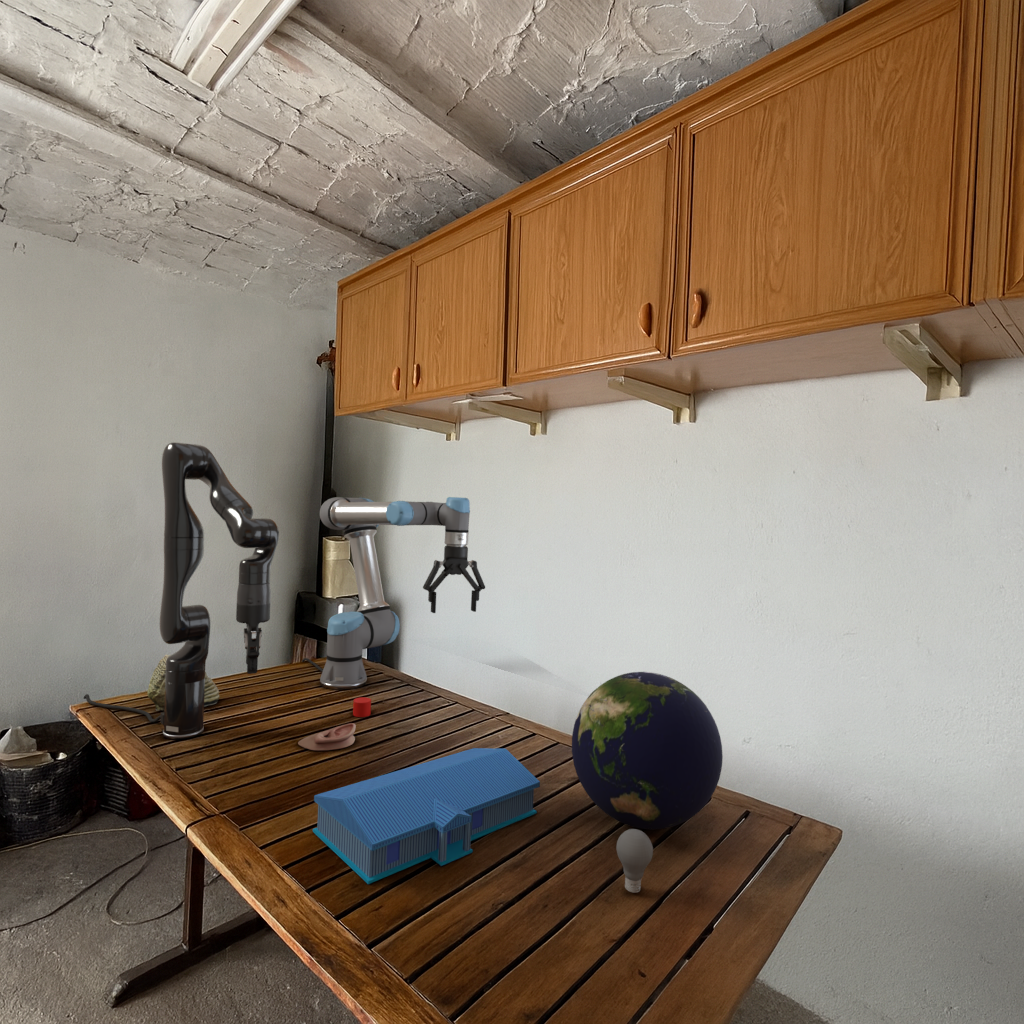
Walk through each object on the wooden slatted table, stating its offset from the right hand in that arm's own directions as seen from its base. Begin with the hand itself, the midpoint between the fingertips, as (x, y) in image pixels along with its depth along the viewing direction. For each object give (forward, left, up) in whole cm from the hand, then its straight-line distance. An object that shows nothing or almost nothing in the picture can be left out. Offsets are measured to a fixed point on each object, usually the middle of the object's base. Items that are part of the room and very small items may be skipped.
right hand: (453, 611), depth 203 cm
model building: (+74, -28, -28) cm, 84 cm away
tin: (+7, -29, -28) cm, 41 cm away
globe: (+86, +12, -28) cm, 92 cm away
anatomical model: (+26, -42, -28) cm, 56 cm away
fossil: (-15, -77, -28) cm, 83 cm away
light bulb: (+105, -3, -28) cm, 109 cm away
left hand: (+28, -61, -7) cm, 67 cm away
